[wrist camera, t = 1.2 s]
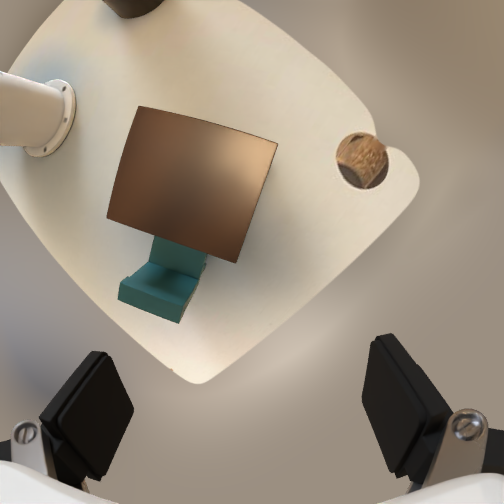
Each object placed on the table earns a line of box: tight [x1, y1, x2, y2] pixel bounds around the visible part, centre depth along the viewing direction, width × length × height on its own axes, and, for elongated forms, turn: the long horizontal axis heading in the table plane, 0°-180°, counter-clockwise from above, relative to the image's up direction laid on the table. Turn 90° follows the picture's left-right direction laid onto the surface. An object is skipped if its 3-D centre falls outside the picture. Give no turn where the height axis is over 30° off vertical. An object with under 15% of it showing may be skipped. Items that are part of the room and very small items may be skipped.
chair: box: [118, 236, 207, 324], centre depth 28 cm, size 8×6×13 cm
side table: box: [106, 106, 278, 263], centre depth 26 cm, size 12×10×12 cm
